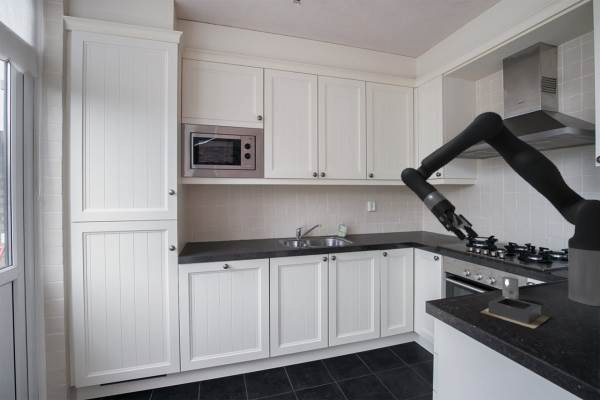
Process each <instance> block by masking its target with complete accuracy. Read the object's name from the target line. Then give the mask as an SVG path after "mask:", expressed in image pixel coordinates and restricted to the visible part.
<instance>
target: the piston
mask: <svg viewBox="0 0 600 400" xmlns="http://www.w3.org/2000/svg"><path fill="white" fill-rule="evenodd" d="M501 287H502V290H501V291H502V295H501V296H504V297H508V298H512V299H516V300H519V279H518V278H516V277H513V276H512V277H511V276H502V286H501Z"/></svg>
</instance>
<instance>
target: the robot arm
mask: <svg viewBox="0 0 600 400" xmlns="http://www.w3.org/2000/svg"><path fill="white" fill-rule="evenodd" d="M480 142H484V143H486V144H487V145H489V146H490V147H492V148H493V149H494V150H495V151H496V152H498V154H499V155H500V157H502V158H503V160H504V161H505V163H507V164H508V165H509V167H510V168H511V169H512V170H513V171H514V172H515V173H516V174H517V175H518V176H519V177H521V178H522V179H523V180H524V181H525V182H526V183H528V185H530V186H531V187H532V188H533V189H534V190H535V191H537V192H538V193H539V194H540V195H542V196H543V197H544V198H545V199H546V201H548V202H549V203H550V204H551V205H552V206H553V207H554V208H555V210H556V211H557V212H559V214H560V215H561V217H563V219H564V220H565V221H566V222H568V223H569V224H571V225H573V226H574V233H573V236H571V237H570V238H568V241H567V251H568V252H567V254H568V255H567V256H568V259H567V261H568V262H567V263H568V267H567V268H568V270H567V271H568V281H567V282H568V286H567V287H568V299H569V300H571V301H573V302H576V303H579V304H584V305H588V306H591V307H592V306H593V307H594V306H595V307H600V199H592V198H591V199H588V198H587V199H586V198H584V197H583V196H581V195H580V194H579V193H577V192H576V191H575V190H573V189H572V188H571V187H570V186H569V185H568V184H567V182H566V181H565V179H564V177H563V175H562V173H561V171H560V170H559V168H558V167H557V165H555V163H554V162H553V161H552V160H550V159H549V157H547V156H546V155H545V154H543V153H542V152H541V151H540V150H538V149H537V148H535V147H533V145H531V144H529V143H527V142H526V141H524V140H522V139H520V138H519V137H517V135H515V134H514V133H513V132H512V131H511V130H510V129H509V128H508V127H507V126H506V124H504V120H503V118H502V116H501V114H499V113H497V112H494V111H485V112H482V113H479V114H478V115H477V116H476V117H475V118H474V119H473V120H472V121H471V123H469V125H467V127H466V128H464V130H462V131H461V132H460V133H458V134H457V135H455V136H454V138H452V139H451V140H449V141H447V142H446V143H444V144H443V145H442V146H440V147H439V148H437V149H436V150H434V151H433V152H432V153H430V154H429V155H427V156H426V157H424V158H423V159H422V160H421V162H420V166H419V167H418V168H416V169H415V168H413V167H406V168H404V169H403V170H402V171H401V174H400V179H401V181H402V182H403V184H404V185H405V186H406V187H407V188H408V189H410V190H411V191H412V192H413V193H415V194H416V196H417V197H418V199H419V200H420V201H421V202H422V203H423V204H424V205H425V206H426V208H427V209H428V211H430V213H432V215H433V216H434V217H435V218H436V219H437V221H438V222H439V223H440V224H441V225H442V226H443V228H445V230H446V231H447V232H451V233H453V234H454V235H455V236H456V237H457V238H458V239H459V241H461V242H462V241H465V240H466V239H467V235H468V236H469V237H470V238H471V239H473V240H475V239H477V238H478V237H479V234H478V233H477V232H476V231H475V230H474V229H473V228H472V227H473V224H472V222H470V221H469V219H467V218H466V217H465V216H464V215H463V214H461V213H460V214H457V213H455V211H456V209H457V207H456V206H455V204H453V203H452V202H451V201H450V200H449V199H448V198H447V197H446V196H445V195H444V194H443V193H441V192H440V191H439V190H438V189H437V188H436V187H435V186H434V185H433V184H432V183H430V182H429V181H428V179H429V178H430V177H431V176H433V174H435V173H436V172H437V171H439V170H440V169H442V168H444V167H445V166H446V165H448V164H449V163H451V162H453V160H454V159H456V158H457V157H458V156H460V155H461V154H462V153H464V152H465V151H467V150H468V149H470V148H471V147H473V146H475V145H477V144H478V143H480ZM462 230H463V231H464V232H466V233H467V235H466V234H465V233H464V232H463V231H462Z"/></svg>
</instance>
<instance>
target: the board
mask: <svg viewBox="0 0 600 400" xmlns="http://www.w3.org/2000/svg"><path fill="white" fill-rule="evenodd" d="M480 313H481V314H485V315H488V316H490V317H494V318H498V319H500V320H504V321H507V322H511V323H514V324H518V325H521V326H523V327H527V328H530V329H536V328H538V327H539V326H540V325H542V324H543V323H544V322H546V321H547V320H549V319H550V316H547V315H543V314H541V317H540V318H538V319H537V320H535V321H534V322H532V323H531V324H529V325H528V324H524V323H521V322H518V321H514V320H511V319H508V318H505V317H501V316H498V315H495V314H491V313H489V307H488V308H485V309H484V310H482V311H480Z"/></svg>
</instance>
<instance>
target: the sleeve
mask: <svg viewBox="0 0 600 400" xmlns="http://www.w3.org/2000/svg"><path fill="white" fill-rule="evenodd" d="M487 305H488V308H489V313H491V314H495V315H498V316H501V317H505V318H508V319H511V320H514V321H518V322H521V323H524V324H528V325H529V324H531V323H532V322H534V321H535V320H537V319H538V318H540V317H541V315H542V305H540V304H537V303H531V302H528V301H523V300H520V299H518V300H516V299H512V298H508V297H504V296H502V295H501V296H498V297H497V298H494V299H492V300H490V301H488V304H487Z"/></svg>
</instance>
